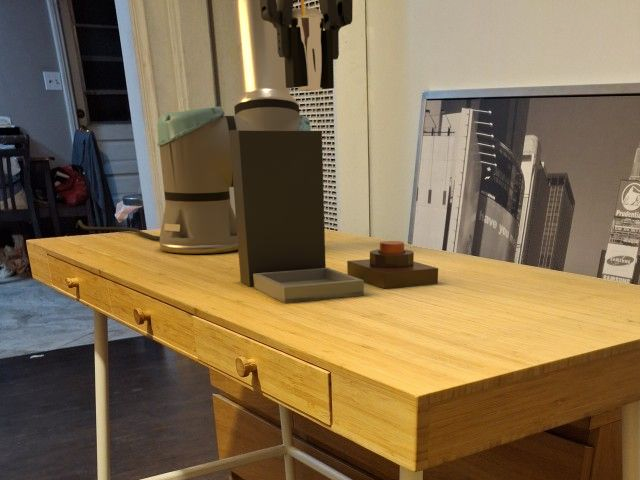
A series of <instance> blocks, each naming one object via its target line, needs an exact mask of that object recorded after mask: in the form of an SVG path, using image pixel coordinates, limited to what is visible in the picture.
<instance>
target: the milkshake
mask: <svg viewBox="0 0 640 480" xmlns="http://www.w3.org/2000/svg"><path fill="white" fill-rule="evenodd" d="M299 1H300V2H299V3H300V8H294V7H293V10H292V18H291V23H290V27H297V39H298V64H299V87H297V91H300V92H307V91H308V92H310V91H311V92H312V91H323V90H324V89H323V30H324V26H323V25H324V17H323V15H322V13H321V10H320V9H318V8H315V7H312V8H311V7H310V8H309V7H306V5H305V3H306V2H305V0H299Z"/></svg>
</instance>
